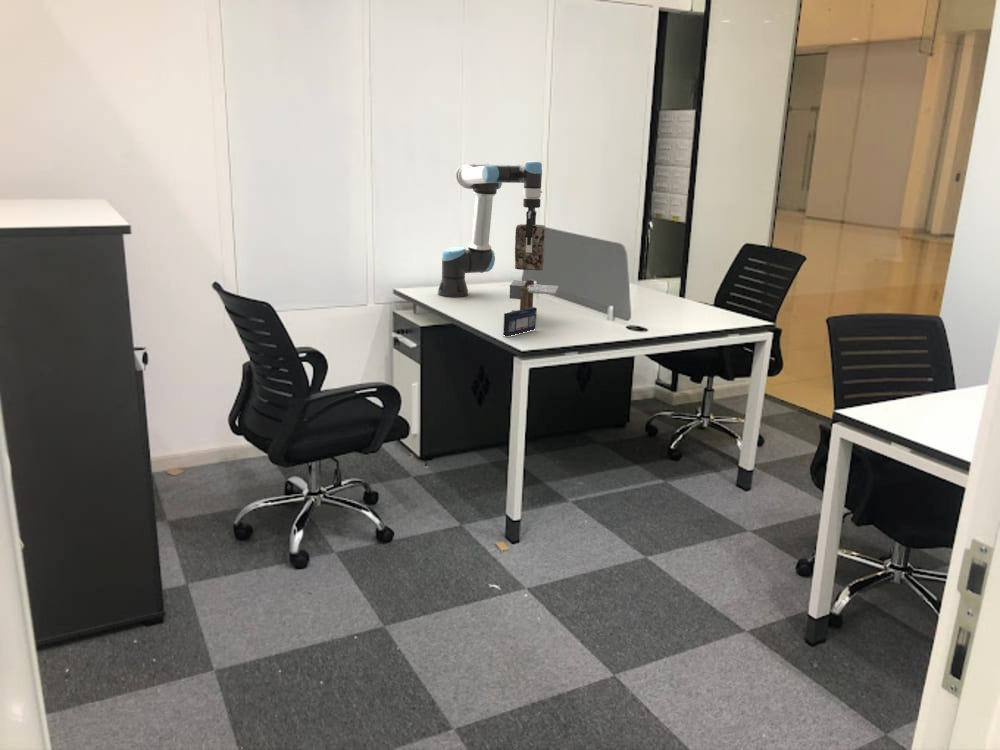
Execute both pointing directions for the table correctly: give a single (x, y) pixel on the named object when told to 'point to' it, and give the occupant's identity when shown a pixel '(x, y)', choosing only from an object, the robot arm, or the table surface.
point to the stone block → (538, 244)
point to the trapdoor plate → (530, 289)
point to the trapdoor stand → (526, 296)
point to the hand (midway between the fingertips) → (529, 251)
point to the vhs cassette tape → (519, 321)
